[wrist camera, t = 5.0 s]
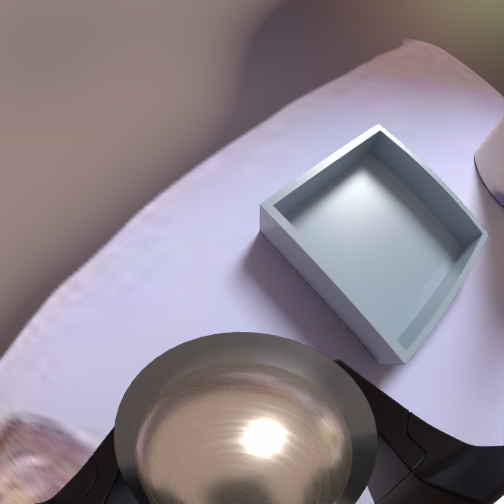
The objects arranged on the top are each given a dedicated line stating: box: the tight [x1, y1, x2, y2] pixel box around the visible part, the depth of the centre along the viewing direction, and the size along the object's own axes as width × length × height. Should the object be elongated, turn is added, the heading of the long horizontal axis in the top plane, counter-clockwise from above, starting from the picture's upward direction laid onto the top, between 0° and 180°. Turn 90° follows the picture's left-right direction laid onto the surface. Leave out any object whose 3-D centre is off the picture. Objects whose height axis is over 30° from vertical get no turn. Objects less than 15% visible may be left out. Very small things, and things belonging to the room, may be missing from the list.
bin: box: [260, 124, 489, 365], centre depth 20 cm, size 14×14×4 cm
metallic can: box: [114, 332, 377, 504], centre depth 9 cm, size 6×6×12 cm
